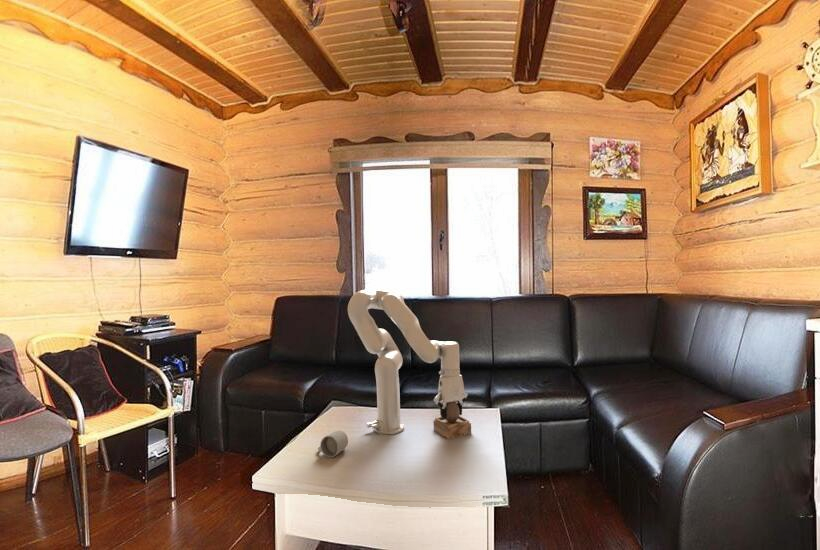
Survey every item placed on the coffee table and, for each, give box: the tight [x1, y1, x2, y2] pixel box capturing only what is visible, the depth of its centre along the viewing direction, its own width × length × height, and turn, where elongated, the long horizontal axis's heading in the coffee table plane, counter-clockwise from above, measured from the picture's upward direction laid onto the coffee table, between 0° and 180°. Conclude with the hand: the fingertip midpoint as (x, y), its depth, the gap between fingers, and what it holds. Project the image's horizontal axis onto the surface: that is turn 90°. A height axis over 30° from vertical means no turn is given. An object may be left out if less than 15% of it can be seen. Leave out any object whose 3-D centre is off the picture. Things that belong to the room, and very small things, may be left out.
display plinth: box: [433, 415, 472, 440], centre depth 166 cm, size 11×11×5 cm
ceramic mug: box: [317, 430, 349, 458], centre depth 150 cm, size 11×8×8 cm
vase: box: [445, 401, 461, 422], centre depth 166 cm, size 7×7×9 cm
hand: (451, 415), depth 166 cm, fingers closed on vase, 6 cm apart
